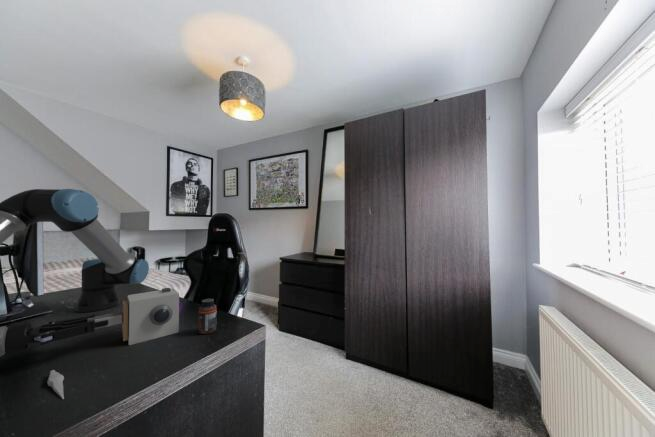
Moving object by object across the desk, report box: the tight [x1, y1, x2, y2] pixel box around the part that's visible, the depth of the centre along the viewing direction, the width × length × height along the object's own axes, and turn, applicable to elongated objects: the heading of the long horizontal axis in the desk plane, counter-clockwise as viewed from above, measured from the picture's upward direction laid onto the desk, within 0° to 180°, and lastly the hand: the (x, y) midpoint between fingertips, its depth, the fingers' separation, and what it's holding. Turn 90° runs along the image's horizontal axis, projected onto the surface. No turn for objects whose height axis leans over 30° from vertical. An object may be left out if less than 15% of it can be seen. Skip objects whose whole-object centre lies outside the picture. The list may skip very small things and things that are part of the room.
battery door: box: [87, 299, 128, 342], centre depth 79 cm, size 8×10×11 cm
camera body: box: [126, 287, 180, 346], centre depth 86 cm, size 12×14×15 cm
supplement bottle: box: [197, 298, 218, 335], centre depth 89 cm, size 6×6×11 cm
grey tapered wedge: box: [46, 369, 65, 400], centre depth 58 cm, size 15×3×2 cm, turn 55°
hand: (121, 317), depth 81 cm, fingers closed on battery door, 2 cm apart
